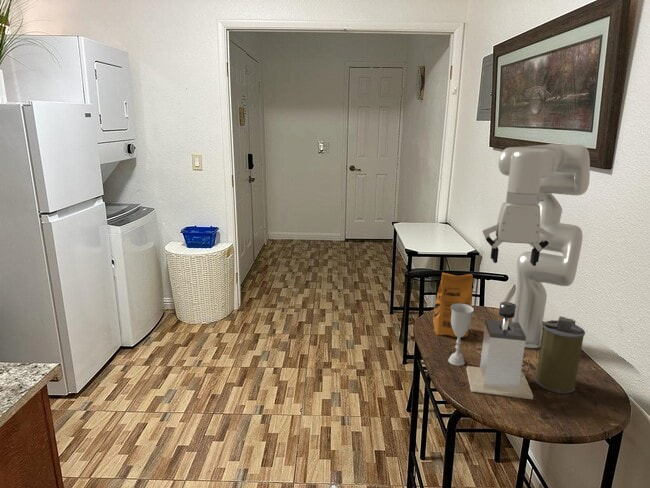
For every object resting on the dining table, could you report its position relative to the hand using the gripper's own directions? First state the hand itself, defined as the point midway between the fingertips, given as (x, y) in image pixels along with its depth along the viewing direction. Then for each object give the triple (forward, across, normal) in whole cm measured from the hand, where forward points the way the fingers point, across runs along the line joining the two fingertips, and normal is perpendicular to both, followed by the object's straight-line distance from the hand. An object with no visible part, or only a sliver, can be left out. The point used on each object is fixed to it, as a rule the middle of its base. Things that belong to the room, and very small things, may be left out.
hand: (513, 263), depth 117 cm
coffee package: (+36, +11, -32) cm, 50 cm away
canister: (+36, -16, -4) cm, 40 cm away
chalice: (+36, +11, -10) cm, 39 cm away
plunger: (+34, 0, 0) cm, 34 cm away
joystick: (+36, 0, 0) cm, 36 cm away
